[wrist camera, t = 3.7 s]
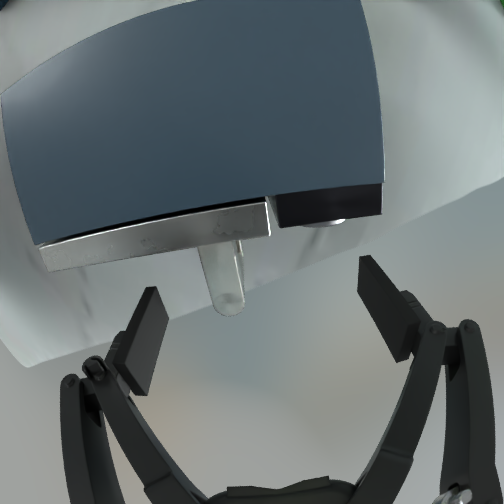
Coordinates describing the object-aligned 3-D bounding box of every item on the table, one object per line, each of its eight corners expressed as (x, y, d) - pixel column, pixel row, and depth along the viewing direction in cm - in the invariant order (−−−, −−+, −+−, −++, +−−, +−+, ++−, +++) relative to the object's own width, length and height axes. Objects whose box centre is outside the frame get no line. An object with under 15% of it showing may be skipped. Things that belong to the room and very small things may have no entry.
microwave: (312, 173, 24) (383, 232, 12) (129, 205, 25) (50, 282, 12) (297, 55, 19) (359, -5, 7) (105, 96, 20) (0, 94, 7)
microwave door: (264, 239, 27) (283, 341, 15) (145, 258, 27) (94, 354, 15) (252, 158, 23) (266, 201, 11) (122, 185, 24) (37, 248, 12)
